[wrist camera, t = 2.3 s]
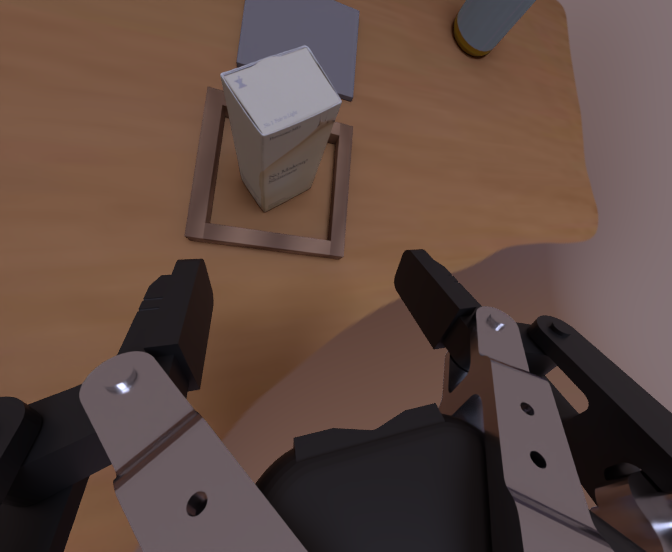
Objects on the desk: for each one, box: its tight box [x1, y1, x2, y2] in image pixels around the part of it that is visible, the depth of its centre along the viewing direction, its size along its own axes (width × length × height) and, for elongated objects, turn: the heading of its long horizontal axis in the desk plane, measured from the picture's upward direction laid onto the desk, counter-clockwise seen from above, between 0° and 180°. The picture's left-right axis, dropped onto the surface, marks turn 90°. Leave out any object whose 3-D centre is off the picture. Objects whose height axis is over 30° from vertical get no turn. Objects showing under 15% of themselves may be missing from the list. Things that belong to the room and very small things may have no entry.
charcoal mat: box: [237, 0, 359, 101], centre depth 28 cm, size 13×12×1 cm
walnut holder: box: [185, 87, 353, 259], centre depth 26 cm, size 15×15×2 cm
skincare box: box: [220, 45, 342, 212], centre depth 21 cm, size 6×4×12 cm
